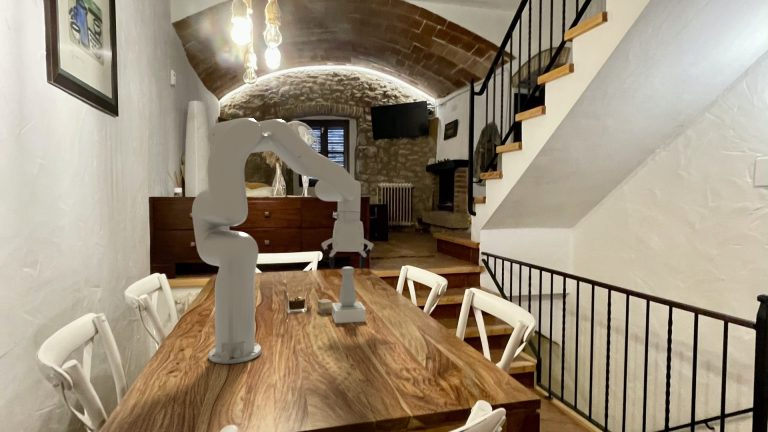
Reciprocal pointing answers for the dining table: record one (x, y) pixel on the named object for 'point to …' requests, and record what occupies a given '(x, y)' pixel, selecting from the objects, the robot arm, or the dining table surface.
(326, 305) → the tan block
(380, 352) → the dining table surface
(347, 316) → the base block
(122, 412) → the dining table surface
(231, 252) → the robot arm
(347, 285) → the salt shaker
